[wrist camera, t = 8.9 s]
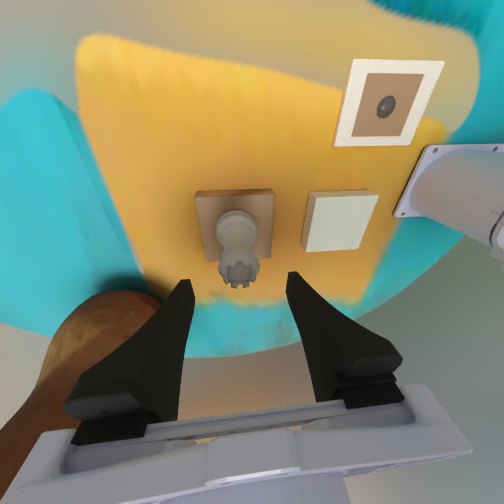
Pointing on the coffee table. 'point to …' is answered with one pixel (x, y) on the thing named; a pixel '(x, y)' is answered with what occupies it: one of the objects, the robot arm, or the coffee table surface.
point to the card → (384, 101)
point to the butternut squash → (70, 369)
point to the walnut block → (222, 202)
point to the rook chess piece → (237, 248)
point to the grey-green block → (337, 219)
